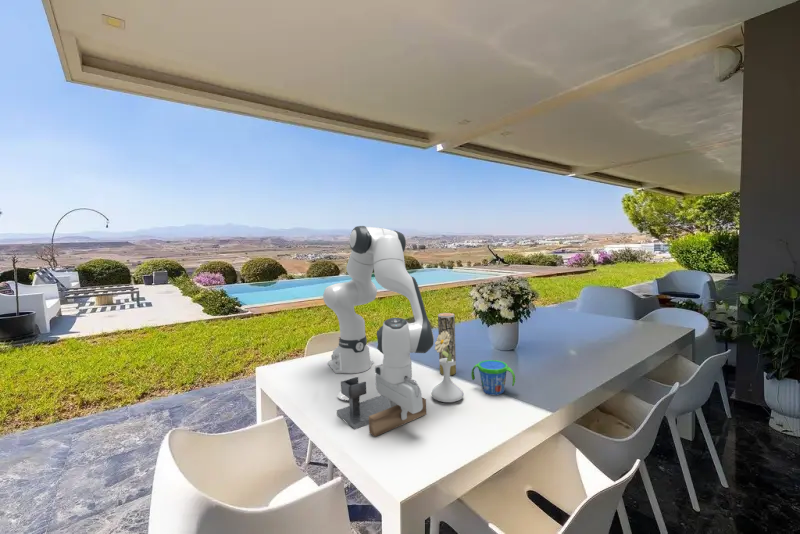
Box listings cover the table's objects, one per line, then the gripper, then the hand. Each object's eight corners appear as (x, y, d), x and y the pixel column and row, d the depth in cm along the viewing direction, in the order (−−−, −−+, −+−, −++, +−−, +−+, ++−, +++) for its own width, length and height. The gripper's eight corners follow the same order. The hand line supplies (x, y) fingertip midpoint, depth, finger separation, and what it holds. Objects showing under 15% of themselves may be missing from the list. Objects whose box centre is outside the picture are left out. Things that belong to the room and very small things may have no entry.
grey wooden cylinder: (455, 376, 148) (454, 316, 146) (439, 376, 149) (437, 316, 147) (456, 370, 154) (454, 312, 153) (440, 370, 156) (438, 312, 154)
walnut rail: (369, 432, 107) (368, 416, 106) (420, 410, 119) (419, 396, 119) (375, 436, 104) (374, 420, 104) (426, 414, 117) (425, 399, 116)
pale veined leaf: (353, 388, 139) (353, 382, 138) (365, 402, 128) (365, 395, 128) (334, 394, 135) (333, 388, 135) (344, 409, 125) (344, 402, 124)
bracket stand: (336, 414, 119) (335, 379, 118) (398, 393, 133) (397, 361, 133) (354, 429, 109) (352, 390, 108) (419, 405, 124) (417, 370, 123)
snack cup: (467, 392, 132) (466, 365, 132) (478, 382, 141) (478, 357, 140) (509, 402, 123) (509, 373, 123) (519, 390, 132) (518, 363, 131)
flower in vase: (430, 391, 134) (428, 325, 132) (461, 391, 134) (459, 324, 132) (432, 408, 121) (430, 334, 119) (466, 407, 121) (465, 333, 119)
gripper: (427, 379, 104) (428, 426, 105) (387, 361, 120) (389, 401, 121) (409, 385, 100) (411, 433, 101) (371, 365, 117) (373, 407, 118)
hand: (398, 415), depth 111 cm, fingers closed on walnut rail, 3 cm apart
